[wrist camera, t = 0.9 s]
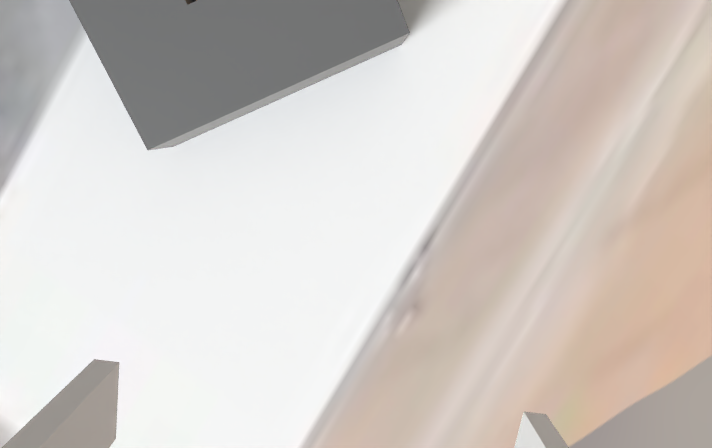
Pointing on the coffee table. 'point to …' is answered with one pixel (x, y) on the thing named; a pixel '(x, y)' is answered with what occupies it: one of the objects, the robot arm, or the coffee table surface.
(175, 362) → the coffee table surface
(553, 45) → the coffee table surface
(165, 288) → the coffee table surface
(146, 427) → the coffee table surface
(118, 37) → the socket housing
